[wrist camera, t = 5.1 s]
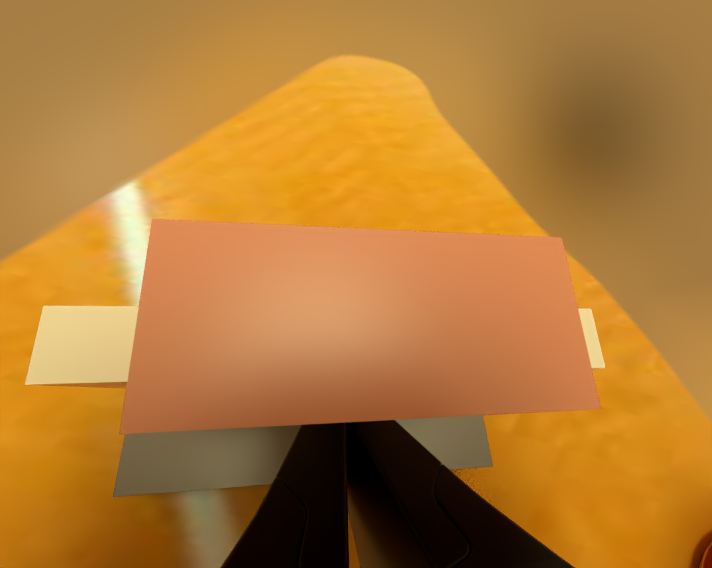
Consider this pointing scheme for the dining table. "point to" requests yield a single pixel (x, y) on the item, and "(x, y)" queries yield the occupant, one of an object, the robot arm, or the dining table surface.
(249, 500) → the dining table surface
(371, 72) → the dining table surface
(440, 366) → the lever
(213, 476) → the switch box
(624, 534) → the dining table surface
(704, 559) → the soda can
